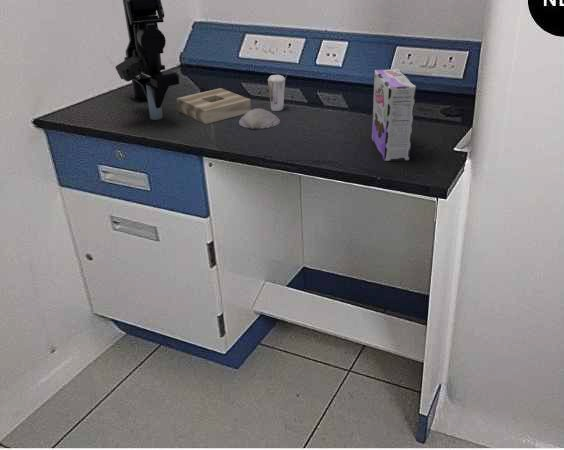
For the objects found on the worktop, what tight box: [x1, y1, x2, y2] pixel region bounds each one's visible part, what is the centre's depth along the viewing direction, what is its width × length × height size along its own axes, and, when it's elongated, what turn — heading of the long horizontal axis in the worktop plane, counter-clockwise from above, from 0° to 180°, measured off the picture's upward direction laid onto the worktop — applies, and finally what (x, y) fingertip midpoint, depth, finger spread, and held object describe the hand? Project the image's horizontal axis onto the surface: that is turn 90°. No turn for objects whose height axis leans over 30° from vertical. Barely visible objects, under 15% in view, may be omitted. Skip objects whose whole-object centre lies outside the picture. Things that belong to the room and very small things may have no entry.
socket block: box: [176, 87, 252, 125], centre depth 166 cm, size 14×14×4 cm
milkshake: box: [267, 72, 289, 112], centre depth 165 cm, size 4×5×10 cm
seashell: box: [238, 107, 281, 130], centre depth 158 cm, size 10×6×10 cm
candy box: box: [371, 68, 417, 162], centre depth 137 cm, size 14×6×16 cm, turn 5°
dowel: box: [146, 82, 163, 121], centre depth 161 cm, size 3×3×9 cm
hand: (155, 106), depth 162 cm, fingers closed on dowel, 3 cm apart
